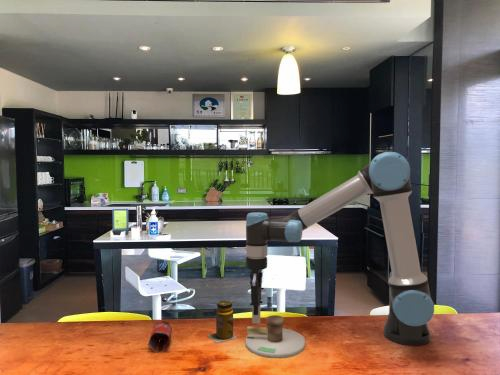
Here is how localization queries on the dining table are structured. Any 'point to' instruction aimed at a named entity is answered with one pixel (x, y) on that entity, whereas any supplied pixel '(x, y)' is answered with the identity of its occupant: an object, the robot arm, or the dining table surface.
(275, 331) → the tuning knob
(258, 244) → the robot arm
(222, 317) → the condiment
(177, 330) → the dining table surface
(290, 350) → the dial plate
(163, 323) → the beverage can
